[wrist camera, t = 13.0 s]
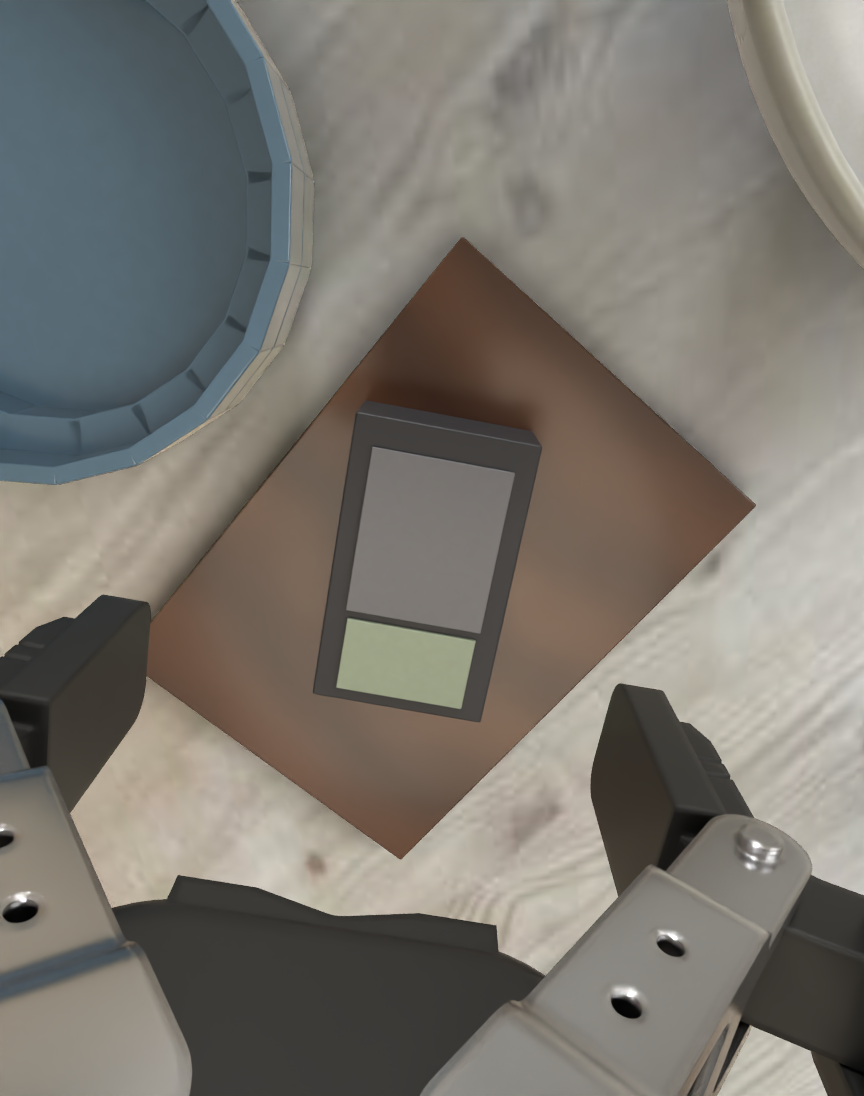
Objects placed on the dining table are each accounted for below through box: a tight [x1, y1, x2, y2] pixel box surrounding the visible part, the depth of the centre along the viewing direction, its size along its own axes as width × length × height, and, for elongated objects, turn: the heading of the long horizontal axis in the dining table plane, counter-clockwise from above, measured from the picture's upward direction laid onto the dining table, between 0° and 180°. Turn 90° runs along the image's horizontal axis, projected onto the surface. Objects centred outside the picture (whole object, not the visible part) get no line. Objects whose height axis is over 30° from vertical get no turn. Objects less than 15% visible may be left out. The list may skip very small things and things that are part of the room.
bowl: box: [0, 0, 315, 485], centre depth 26 cm, size 17×17×5 cm
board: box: [146, 237, 756, 859], centre depth 31 cm, size 20×14×2 cm
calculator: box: [313, 401, 542, 723], centre depth 29 cm, size 10×6×3 cm, turn 170°
